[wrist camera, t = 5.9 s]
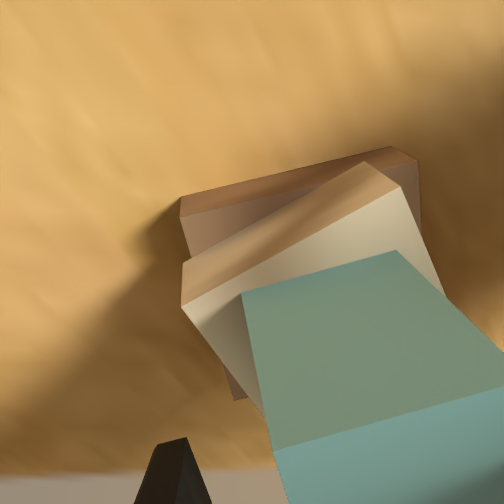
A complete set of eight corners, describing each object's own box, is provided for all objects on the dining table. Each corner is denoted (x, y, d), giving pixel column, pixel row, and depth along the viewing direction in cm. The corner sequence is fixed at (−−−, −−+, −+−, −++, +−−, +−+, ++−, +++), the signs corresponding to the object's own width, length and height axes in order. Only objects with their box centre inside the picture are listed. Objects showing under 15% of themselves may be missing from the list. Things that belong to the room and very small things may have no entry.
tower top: (364, 160, 13) (400, 186, 11) (431, 313, 15) (472, 359, 13) (182, 263, 14) (180, 307, 11) (275, 393, 16) (289, 450, 14)
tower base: (385, 143, 15) (417, 160, 13) (399, 314, 18) (427, 352, 16) (181, 191, 15) (179, 217, 13) (229, 355, 18) (234, 400, 16)
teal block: (395, 249, 11) (530, 378, 7) (411, 373, 13) (529, 544, 8) (240, 292, 11) (272, 451, 7) (276, 411, 13) (321, 603, 8)
